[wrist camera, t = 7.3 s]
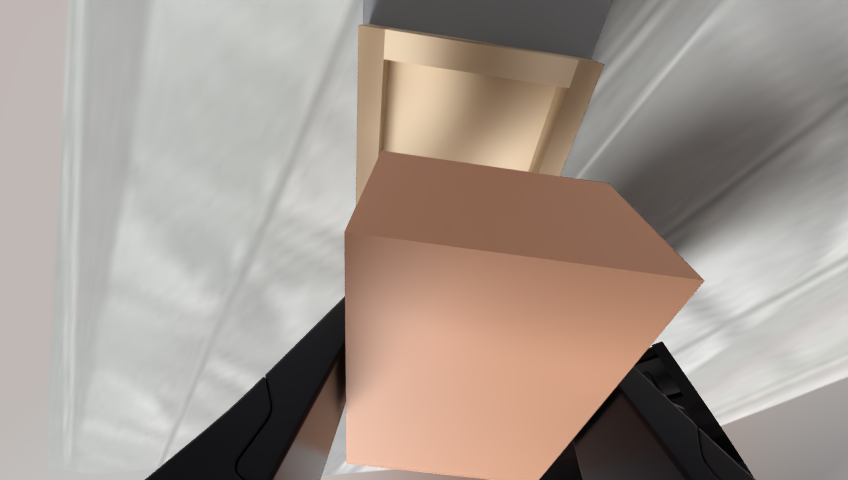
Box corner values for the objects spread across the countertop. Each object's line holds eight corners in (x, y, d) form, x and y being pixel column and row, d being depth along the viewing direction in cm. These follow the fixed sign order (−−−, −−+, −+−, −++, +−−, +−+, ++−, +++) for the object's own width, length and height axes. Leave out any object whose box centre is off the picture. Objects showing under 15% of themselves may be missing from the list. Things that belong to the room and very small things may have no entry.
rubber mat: (803, -540, 8) (828, -579, 7) (508, 267, 22) (510, 273, 21) (382, -640, 7) (378, -688, 7) (360, 247, 22) (358, 253, 21)
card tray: (584, 58, 14) (604, 64, 13) (508, 267, 21) (514, 289, 19) (368, 23, 14) (358, 25, 12) (362, 247, 21) (354, 268, 19)
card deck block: (513, 375, 12) (534, 484, 10) (369, 357, 12) (346, 463, 9) (608, 183, 8) (704, 280, 5) (381, 150, 8) (344, 232, 5)
